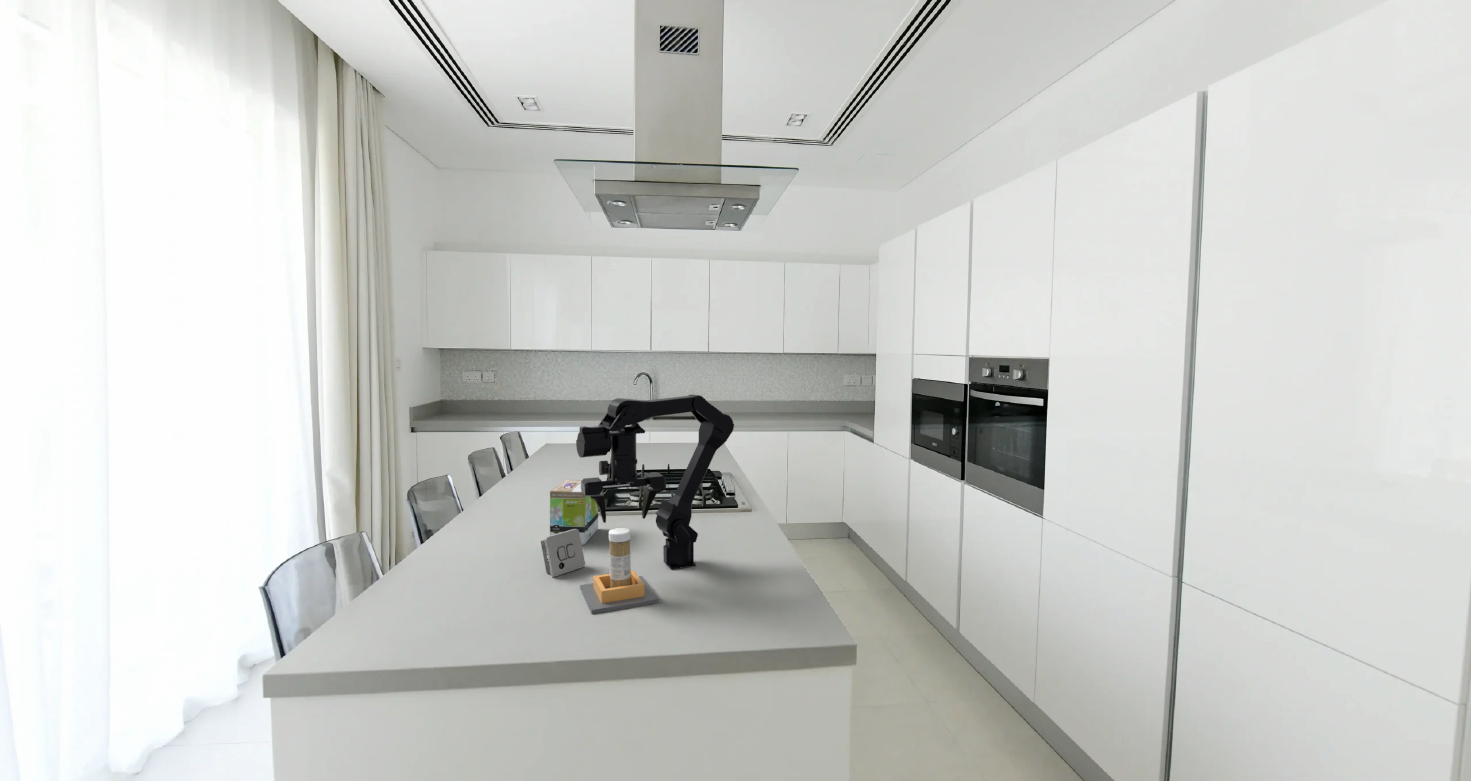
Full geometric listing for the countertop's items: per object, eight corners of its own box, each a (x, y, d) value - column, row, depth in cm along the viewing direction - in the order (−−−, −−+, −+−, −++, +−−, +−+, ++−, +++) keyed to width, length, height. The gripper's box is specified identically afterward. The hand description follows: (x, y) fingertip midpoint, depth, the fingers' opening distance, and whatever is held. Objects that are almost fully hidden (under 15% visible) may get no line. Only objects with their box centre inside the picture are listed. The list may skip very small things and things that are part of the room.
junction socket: (642, 579, 144) (641, 564, 143) (659, 602, 131) (659, 587, 131) (579, 588, 138) (579, 573, 138) (591, 613, 125) (591, 597, 125)
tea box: (586, 545, 167) (585, 491, 166) (548, 545, 167) (547, 490, 166) (599, 528, 182) (598, 478, 181) (565, 528, 182) (564, 478, 181)
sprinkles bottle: (622, 585, 138) (621, 525, 137) (635, 591, 135) (634, 529, 134) (605, 591, 134) (604, 530, 133) (618, 597, 131) (617, 534, 130)
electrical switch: (553, 578, 144) (550, 538, 144) (540, 575, 147) (537, 536, 147) (586, 567, 151) (583, 529, 151) (573, 564, 155) (570, 527, 154)
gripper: (653, 445, 155) (653, 507, 156) (576, 450, 147) (577, 515, 149) (666, 453, 145) (667, 519, 146) (585, 458, 137) (585, 528, 139)
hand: (624, 520), depth 145 cm, fingers open, 9 cm apart
